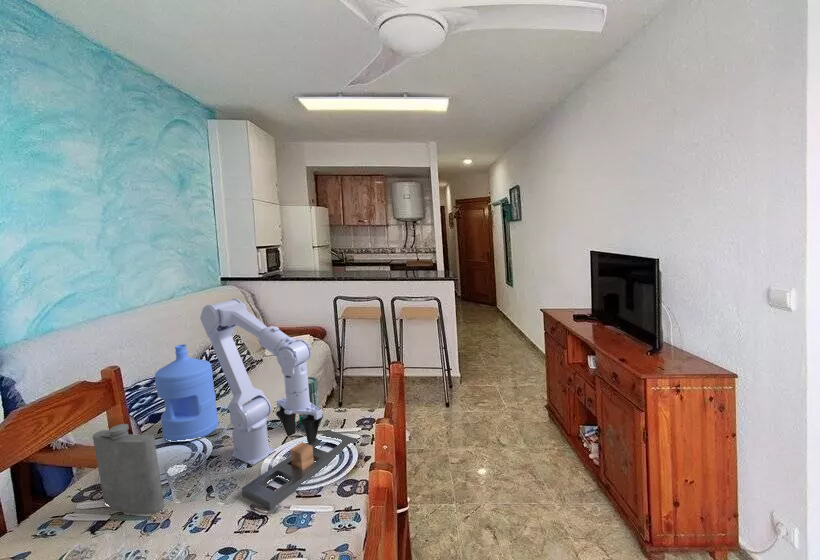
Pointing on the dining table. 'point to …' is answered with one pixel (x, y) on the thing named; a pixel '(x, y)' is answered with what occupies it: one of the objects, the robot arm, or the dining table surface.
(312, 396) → the can
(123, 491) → the hip flask
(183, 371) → the water jug
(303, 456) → the square block
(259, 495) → the grey flat perforated plate
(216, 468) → the dining table surface
